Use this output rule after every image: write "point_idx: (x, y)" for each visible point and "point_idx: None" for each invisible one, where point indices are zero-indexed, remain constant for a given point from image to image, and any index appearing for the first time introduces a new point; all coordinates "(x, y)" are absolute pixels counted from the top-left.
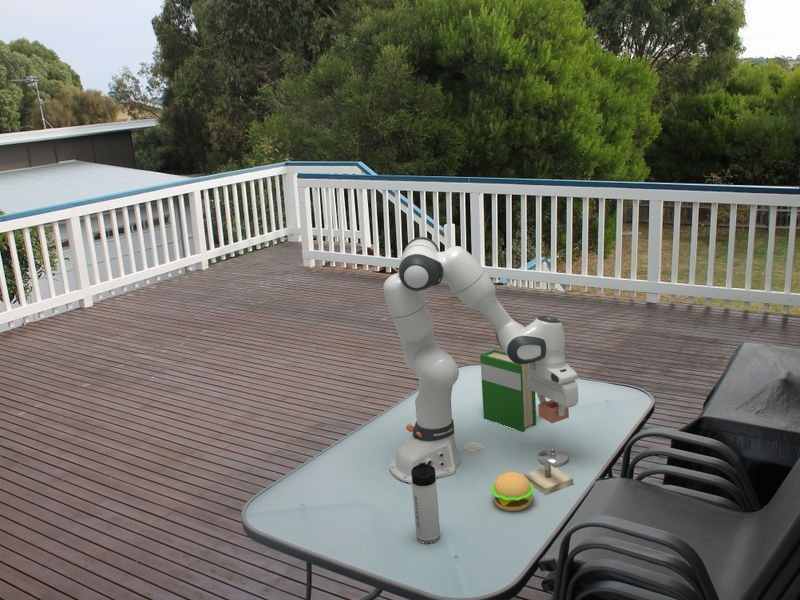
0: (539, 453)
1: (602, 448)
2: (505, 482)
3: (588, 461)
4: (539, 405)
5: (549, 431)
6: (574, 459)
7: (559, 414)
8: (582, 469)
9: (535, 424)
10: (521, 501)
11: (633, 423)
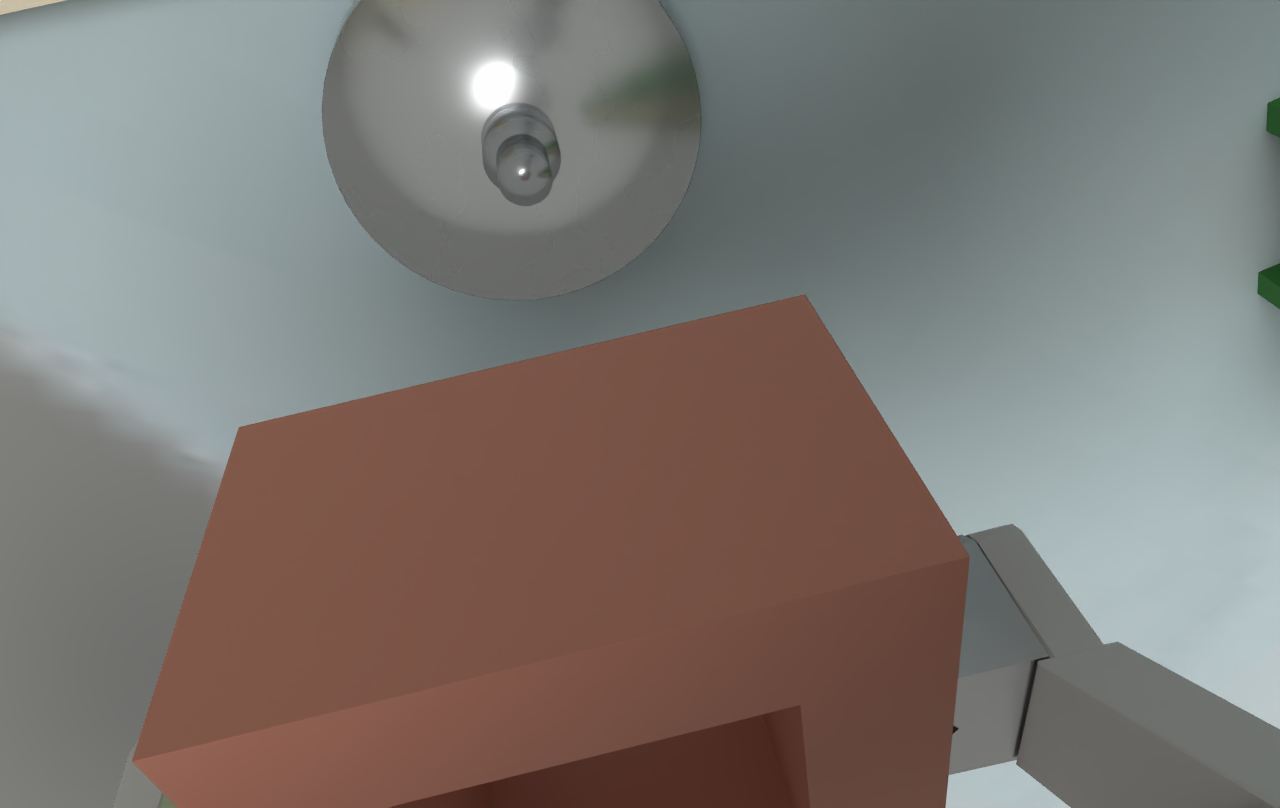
0: (649, 1)
1: None
2: None
3: None
4: (884, 563)
5: (1069, 342)
6: (444, 322)
7: (125, 785)
8: (196, 307)
9: (1264, 286)
10: None
11: None
